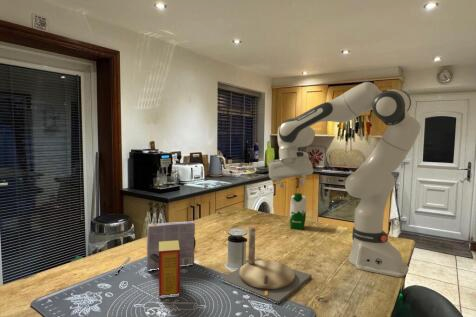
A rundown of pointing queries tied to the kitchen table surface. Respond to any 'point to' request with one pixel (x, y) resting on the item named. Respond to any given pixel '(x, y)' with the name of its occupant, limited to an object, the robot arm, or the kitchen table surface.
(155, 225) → the cake pan box
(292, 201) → the milk carton
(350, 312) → the kitchen table surface
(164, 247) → the baking soda box
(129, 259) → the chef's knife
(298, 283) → the base plate
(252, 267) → the dial
